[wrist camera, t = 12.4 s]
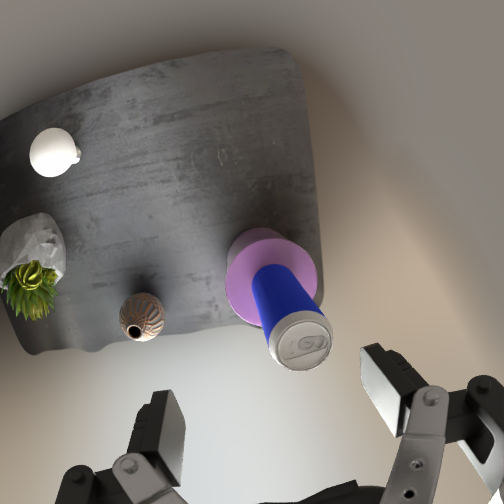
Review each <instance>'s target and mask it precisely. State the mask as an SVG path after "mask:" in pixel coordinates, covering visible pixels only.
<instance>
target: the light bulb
mask: <svg viewBox="0 0 504 504" xmlns="http://www.w3.org/2000/svg"><path fill="white" fill-rule="evenodd" d="M80 157H81V151H80V148H79V147H78V146H76V145H75V144H74V141H73V139H72V137H71V136H70V134H69V133H68V132H66V131H64V130H63V129H60V128H50V129H47V130H44V131H43V132H41V133H40V134H39V135H38V136H37V137H36V138H35V139H34V141H33V143H32V145H31V148H30V161H31V164H32V166H33V168H34V169H35V171H36V172H38V173H39V174H41V175H43V176H46V177H55V176H58V175H60V174H62V173H64V172H65V171H66V170H67V169H68V168H69V167H70V165H71V164H75V163H77V162H78V161H79V160H80Z"/></svg>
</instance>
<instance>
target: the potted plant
mask: <svg viewBox="0 0 504 504" xmlns="http://www.w3.org/2000/svg"><path fill="white" fill-rule="evenodd" d="M65 269H66V246H65V243H64V239H63V235H62V233H61V232H60V230H59V228H58V226H57V224H56V223H55V221H54V219H53V218H52V217H51V216H50V215H49V214H48V213H38V214H34V215H31V216H28V217H25V218H22V219H19V220H18V221H16V222H15V223H13V224H12V225H11V226H9V227H8V228H6V230H5V231H4V232H3V233H2V235H1V240H0V288H2V292H3V289H7V304H8V300H9V298H11V305H12V310H13V309H14V306H15V304H16V308H15V310H16V317H17V315H18V313H19V312H20V310H21V311H22V313H24V316H25V318H26V320H27V315H28V316H30V318H31V319H32V320H33V322H34V318H35V319H36V321H37V317H38V319H39V317H40V318H41V317H42V318H41V319H43V309H44V313H45V316H46V311H47V312H48V313H49V310H48V304H49V305H50V306H51V307H52V309H53V310H54V306H53V304H54V302H53V300H52V298H51V296H52V297H53V298H54V296H53V294H55V295H57V296H58V293H57V291H56V290H55V288H54V286H56V285H57V284H56V283H57V282H58V280H59V279H60V278H61V277H62V276H63V274H64V272H65ZM55 284H56V285H55ZM2 292H1V294H2ZM52 293H53V294H52ZM50 295H51V296H50ZM54 299H55V298H54ZM54 312H55V310H54ZM49 314H50V313H49ZM46 317H47V316H46Z"/></svg>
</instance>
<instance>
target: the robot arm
mask: <svg viewBox="0 0 504 504" xmlns="http://www.w3.org/2000/svg"><path fill="white" fill-rule="evenodd" d="M360 372H361V381H362V385H363V387H364V389H365V391H366V392H367V394H368V395H369V397H370V398H371V400H372V402H373V403H374V405H375V406H376V408H377V410H378V411H379V413H380V414H381V416H382V417H383V419H384V421H385V422H386V424H387V425H388V427H389V429H390V430H391V432H392V433H393V435H394V436H395V438H397V437H399V436H402V435H403V436H402V440H401V443H400V446H399V449H398V453H397V456H396V459H395V463H394V465H393V468H392V471H391V474H390V477H389V480H388V482H387V485H386V488H385V487H380V486H358V484H357V482H356V480H352V481H349V482H346V483H343V484H340V485H336V486H333V487H330V488H326V489H324V490H323V491H320V492H318V493H316V494H315V495H312V496H310V497H308V498H306V499H304V500H302V501H299V502H294V503H293V502H288V503H268V502H265V503H259V504H432V503H433V499H434V495H435V491H436V486H437V482H438V478H439V473H440V468H441V463H442V458H443V452H444V446H445V444H447V443H452V442H458V444H459V445H460V447H461V448H462V450H463V451H464V453H465V454H466V455H467V457H468V458H469V460H470V461H471V463H472V464H473V466H474V467H475V469H476V470H477V472H478V474H479V475H480V477H481V478H482V479H483V481H484V483H485V484H486V486H487V487H488V489H489V490H490V492H491V494H492V495H493V496H492V497H491V499H490V501H489V504H504V387H503V386H502V385H501V384H500V383H499V382H498V381H497V380H496V379H495V378H493V377H491V376H487V375H479V376H476V377H474V378H472V379H471V380H470V381H469V383H468V386H467V389H463V390H459V391H454V392H447V391H446V390H445V389H443V388H442V387H439V386H433V385H429V384H428V383H427V382H426V381H425V380H424V379H423V378H422V377H421V376H420V375H419V373H418V372H417V371H416V370H415V369H414V368H412V366H411V365H410V364H409V363H408V362H407V361H406V359H405V358H404V357H403V356H402V355H401V354H399V353H397V352H395V351H393V350H389V351H385V350H384V349H383V348H382V347H381V346H380V344H379V343H374V344H371V345H368V346H365V347H362V348H361V349H360ZM135 421H136V423H135V424H134V427H133V428H134V430H133V431H132V435H131V438H130V442H129V446H128V449H127V453H126V454H124V455H122V456H120V457H119V458H118V459H117V460H116V461H115V462H114V464H113V467H112V468H110V469H107V470H103V471H99V472H93V471H92V469H91V468H89V467H88V466H85V465H77V466H74V467H72V468H70V469H69V470H68V471H67V472H66V473H65V475H64V476H63V479H62V482H61V486H60V489H59V492H58V495H57V498H56V502H55V504H188V503H187V502H186V501H185V500H184V499H183V498H182V497H181V496H180V495H179V494H178V493H177V492H176V491H175V490H174V489H173V488H172V487H179V486H181V474H182V461H183V450H184V439H185V428H186V427H185V420H184V417H183V414H182V412H181V410H180V407H179V405H178V403H177V400H176V398H175V396H174V394H173V392H172V390H163V391H156V392H153V395H152V398H151V403H150V404H144V405H143V407H142V408H141V409H140V410H139V411H138V413H137V417H136V420H135Z"/></svg>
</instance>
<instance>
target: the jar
mask: <svg viewBox="0 0 504 504" xmlns="http://www.w3.org/2000/svg"><path fill="white" fill-rule="evenodd" d="M270 264H280V265H283V266H285V267H287V268H288V269H289V270H290V271H291V272H292V273H293V274H294V276H295V277H296V278H297V280H298V281H299V282H300V284H301V285H302V286H303V288H304V289H305V290H306V292H307V293H308V294H309V296H310V297H311V298H312V300H313V298H314V295H315V292H316V288H317V272H316V268H315V265H314V263H313V261H312V259H311V258H310V256H309V255H308V254H307V252H306V251H305V250H304V249H302V248H301V247H300V246H299V245H297V244H296V243H294V242H292V241H290V240H287V239H286V238H284V237H283V236H282V235H281V234H280V233H278V232H276V231H274V230H272V229H268V228H254V229H250V230H248V231H245V232H244V233H242V234H241V235H239V236H238V237H237V238H236V239H235V240H234V242H233V243H232V245H231V247H230V249H229V252H228V256H227V266H228V269H227V272H226V278H225V289H226V295H227V298H228V301H229V303H230V305H231V307H232V308H233V310H234V311H235V312H236V313H237V314H238V315H239V316H240V317H241V318H243V319H244V320H245V321H247V322H249V323H252V324H254V325H258V326H262V323H261V320H260V317H259V313H258V310H257V306H256V303H255V300H254V296H253V293H252V280H253V278H254V275H255V274H256V273H257V272H258V271H259V270H260V269H261V268H262V267H264V266H267V265H270Z"/></svg>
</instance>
